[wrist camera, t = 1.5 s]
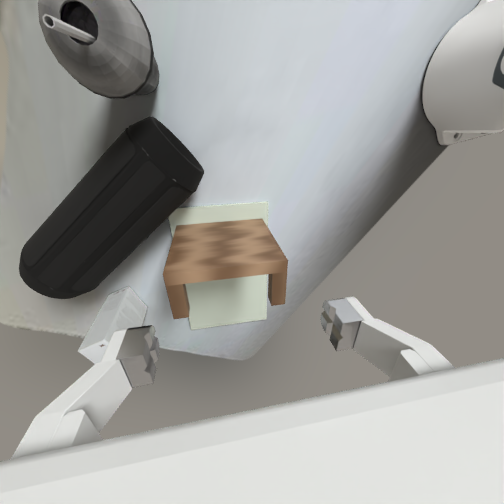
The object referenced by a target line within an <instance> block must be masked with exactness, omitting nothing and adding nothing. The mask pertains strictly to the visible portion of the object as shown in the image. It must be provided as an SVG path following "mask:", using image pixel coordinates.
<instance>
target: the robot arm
mask: <svg viewBox="0 0 504 504" xmlns="http://www.w3.org/2000/svg"><path fill="white" fill-rule="evenodd" d="M423 107H424V111H425V114H426V116H427V118H428V120H429V121H430V123H431V124H432V125H433V126H434V127H435V129H436V132H437V138H438V142H439V144H440V145H451V144H455V143H458V142H462V141H466V140H469V139H473V138H477V137H481V136H485V135H488V134H492V133H501V132H502V131H503V130H504V0H481V1H480V2H479V4H478V5H477V6H476V7H475V8H474V9H473V10H472V11H471V12H470V13H469V14H467V15H466V16H465V17H463V18H462V19H461V20H460V21H458V22H457V23H456V24H455V25H454V26H453V27H452V28H451V29H450V30H449V32H448V33H447V34H446V35H445V37H444V38H443V39H442V41H441V42H440V44H439V45H438V47H437V49H436V51H435V52H434V54H433V56H432V59H431V61H430V63H429V66H428V69H427V72H426V75H425V79H424V85H423ZM323 308H324V312H323V313H322V315H321V324H322V327H323V329H324V331H325V333H327V334H329V335H330V341H331V343H332V345H333V346H334V348H335V350H336V351H341V350H348V349H353V350H354V351H356V352H357V353H358V354H360V355H361V356H362V357H364V358H365V359H366V360H368V361H369V362H370V363H372V364H373V365H375V366H376V367H377V368H378V369H380V370H381V371H383V372H384V373H385V374H387V375H388V376H389V377H390V378H389V380H388V382H385V383H380V384H376V385H371V386H366V387H361V388H356V389H351V390H346V391H341V392H337V393H332V394H327V395H322V396H317V397H313V398H308V399H302V400H298V401H293V402H288V403H283V404H278V405H274V406H268V407H264V408H259V409H254V410H249V411H244V412H240V413H234V414H229V415H225V416H220V417H215V418H210V419H206V420H200V421H195V422H191V423H186V424H181V425H176V426H171V427H166V428H162V429H156V430H151V431H147V432H142V433H137V434H132V435H127V436H122V437H117V438H112V439H107V440H103V439H102V437H101V436H100V434H99V432H100V431H101V430H102V428H103V427H104V426H105V424H106V423H107V422H108V420H109V419H110V418H111V416H112V415H113V414H114V413H115V411H116V410H117V409H118V407H119V406H120V404H121V403H122V402H123V401H124V399H125V398H126V397H127V395H128V394H129V393H130V391H131V390H132V388H133V387H139V386H143V385H148V384H153V383H154V378H155V373H156V367H155V363H156V361H157V360H158V357H159V342H158V338H156V337H155V336H154V335H155V329H154V326H152V325H150V326H141V327H133V328H127V329H118V330H116V331H115V332H114V333H113V335H112V337H111V340H110V342H109V344H108V346H107V349H106V351H105V353H104V356H103V358H102V360H101V362H99V363H96V364H95V365H94V366H93V367H92V368H90V369H89V370H88V371H87V372H86V373H85V374H84V375H83V376H81V377H80V378H79V379H78V380H77V381H76V382H74V383H73V384H72V385H71V386H70V387H69V388H68V389H67V390H65V391H64V392H63V393H62V394H61V395H60V396H58V397H57V398H56V399H55V400H54V401H53V402H52V403H51V404H49V405H48V406H47V407H46V408H45V409H44V410H43V411H41V412H40V413H39V414H38V415H37V416H36V417H35V418H34V420H33V422H32V424H31V426H30V427H29V429H28V431H27V432H26V434H25V435H24V437H23V439H22V441H21V442H20V444H19V446H18V448H17V449H16V451H15V453H14V454H13V456H12V458H11V459H10V460H5V461H0V504H504V358H502V359H497V360H492V361H487V362H483V363H478V364H473V365H468V366H463V367H458V368H455V367H454V366H453V365H452V364H451V363H450V362H448V361H447V360H446V359H445V358H444V357H443V356H442V355H441V354H440V353H439V352H438V351H437V350H436V349H435V348H434V347H433V346H432V345H431V344H429V343H427V342H425V341H422V340H421V339H419V338H416V337H414V336H412V335H410V334H408V333H406V332H404V331H402V330H400V329H398V328H396V327H394V326H392V325H390V324H388V323H385V322H383V321H381V320H379V319H374V318H373V317H372V316H371V315H370V313H369V312H368V311H367V310H366V309H365V308H364V307H363V306H362V304H361V303H360V302H359V301H358V300H357V299H356V298H355V297H346V298H340V299H333V300H327V301H325V302H324V303H323Z"/></svg>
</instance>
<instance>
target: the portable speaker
mask: <svg viewBox="0 0 504 504" xmlns="http://www.w3.org/2000/svg"><path fill="white" fill-rule="evenodd" d="M203 174H204V170H203V168H202V166H201V165H200V164H199V162H198V161H197V160H196V158H195V157H194V156H193V155H192V154H191V152H190V151H189V150H188V149H187V148H186V147H185V146H184V145H183V144H182V142H181V141H180V140H179V139H178V138H177V137H176V136H175V135H174V134H173V133H172V132H171V131H170V130H169V129H167V128H166V127H165V126H164V125H163V124H162V123H161V122H159V121H158V120H157V119H155V118H154V117H149V118H146V119H144V120H142V121H140V122H137V123H135V124H133V125H131V126H129V128H126V130H125V131H124V132H123V133H122V134H121V135H120V136H119V137H118V139H117V140H116V141H115V142H114V143H113V144H112V145H111V147H110V148H109V149H108V150H107V151H106V152H105V153H104V155H103V156H102V157H101V158H100V159H99V160H98V161H97V163H96V164H95V165H94V166H93V167H92V168H91V169H90V171H89V172H88V173H87V174H86V175H85V176H84V177H83V179H82V180H81V181H80V182H79V183H78V184H77V185H76V187H75V188H74V189H73V190H72V191H71V192H70V193H69V195H68V196H67V197H66V198H65V199H64V200H63V201H62V203H61V204H60V205H59V206H58V207H57V208H56V209H55V211H54V212H53V213H52V214H51V215H50V216H49V217H48V219H47V220H46V221H45V222H44V223H43V224H42V225H41V227H40V228H39V229H38V230H37V231H36V232H35V233H34V234H33V236H32V237H31V238H30V239H29V240H28V241H27V242H26V244H25V245H24V247H23V249H22V252H21V257H20V265H19V272H20V276H21V278H22V279H23V281H24V282H25V283H26V284H27V285H28V286H29V287H30V288H31V289H33V290H34V291H36V292H38V293H40V294H42V295H45V296H48V297H51V298H58V299H69V298H73V297H76V296H79V295H81V294H84V293H87V292H89V291H91V290H93V289H95V288H96V287H97V286H98V285H99V284H100V283H101V282H102V281H103V280H104V279H105V278H106V277H107V276H108V275H109V274H110V273H111V272H112V271H113V270H114V269H115V268H116V267H117V266H118V265H119V264H120V263H121V262H122V261H123V260H125V259H126V258H127V257H128V256H129V255H130V254H131V253H132V252H133V251H134V250H135V249H136V248H137V247H138V246H140V245H141V244H142V243H143V242H144V241H145V240H146V239H147V238H148V236H149V235H150V234H151V233H152V232H153V231H154V230H155V229H156V228H157V227H158V226H159V225H160V224H161V223H163V222H164V221H165V220H166V219H167V218H168V217H169V216H170V215H171V214H172V213H173V212H174V211H175V210H176V209H177V208H178V207H179V206H180V205H181V204H182V203H183V202H184V201H185V200H186V199H187V198H188V197H189V196H190V195H191V194H192V193H193V192H195V191H196V189H197V187H198V185H199V183H200V181H201V179H202V176H203Z"/></svg>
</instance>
